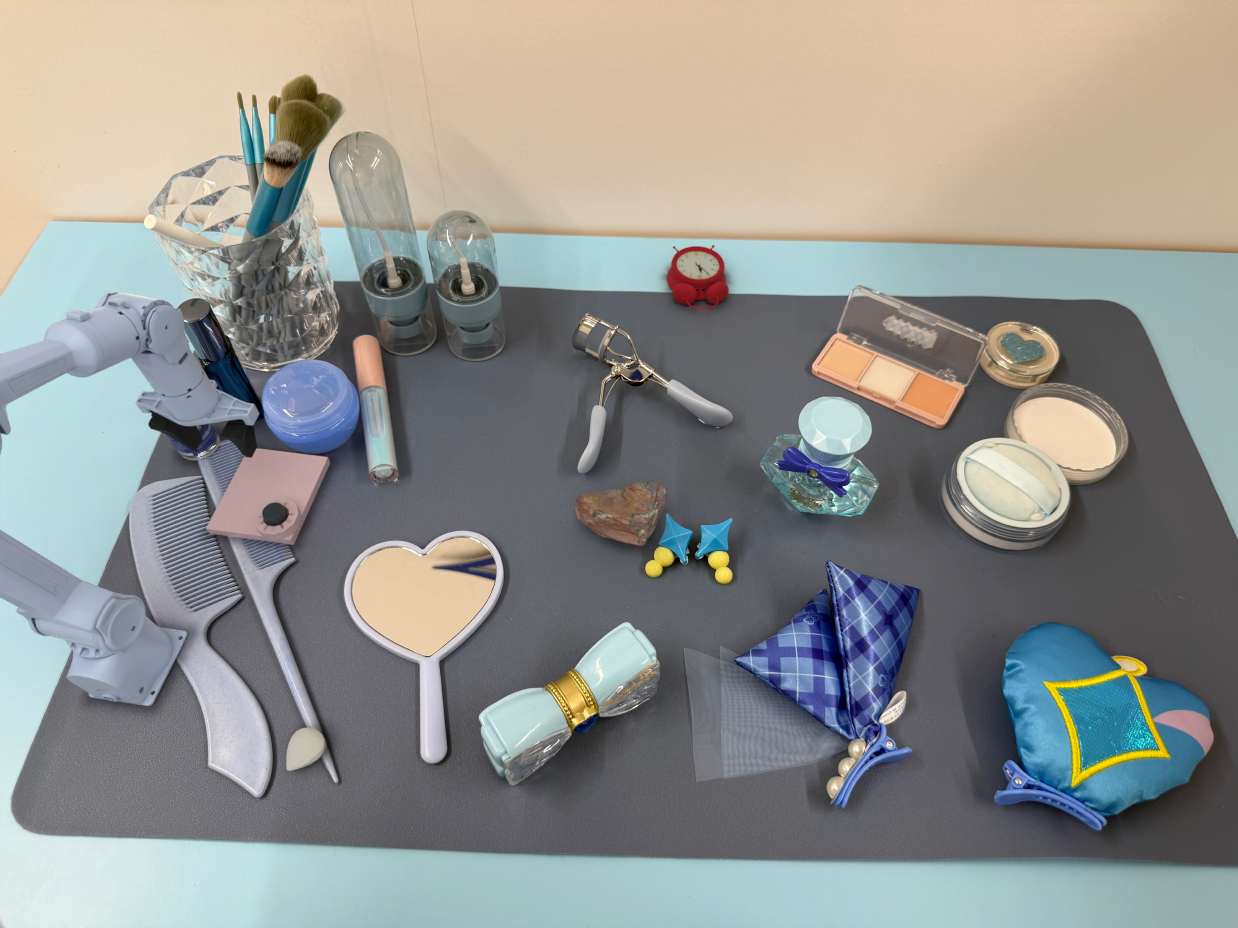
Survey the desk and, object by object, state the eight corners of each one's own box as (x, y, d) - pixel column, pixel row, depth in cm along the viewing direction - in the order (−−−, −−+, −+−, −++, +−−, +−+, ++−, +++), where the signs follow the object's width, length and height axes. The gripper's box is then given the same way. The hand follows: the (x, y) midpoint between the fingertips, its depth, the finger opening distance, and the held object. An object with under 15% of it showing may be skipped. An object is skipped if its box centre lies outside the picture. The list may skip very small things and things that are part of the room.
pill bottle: (208, 464, 112) (177, 421, 104) (172, 458, 113) (139, 415, 105) (228, 434, 115) (199, 390, 107) (193, 428, 116) (162, 384, 108)
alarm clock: (722, 240, 138) (737, 280, 126) (719, 272, 142) (734, 314, 130) (664, 242, 137) (674, 283, 126) (663, 274, 141) (673, 316, 130)
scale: (295, 547, 104) (287, 536, 102) (208, 536, 105) (199, 524, 103) (333, 462, 112) (327, 450, 110) (252, 452, 113) (244, 440, 111)
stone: (662, 504, 109) (666, 463, 101) (674, 556, 104) (679, 517, 96) (573, 515, 108) (571, 475, 100) (581, 569, 103) (579, 530, 95)
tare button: (282, 527, 103) (278, 521, 102) (262, 524, 103) (258, 518, 102) (290, 509, 105) (286, 503, 103) (271, 507, 105) (267, 500, 104)
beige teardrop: (336, 744, 89) (329, 737, 87) (305, 783, 86) (297, 777, 84) (308, 725, 90) (301, 718, 88) (277, 763, 88) (269, 756, 86)
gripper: (250, 361, 93) (288, 431, 104) (137, 348, 94) (186, 419, 105) (225, 405, 89) (267, 473, 100) (107, 391, 90) (161, 460, 101)
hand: (224, 448), depth 102 cm, fingers open, 7 cm apart
